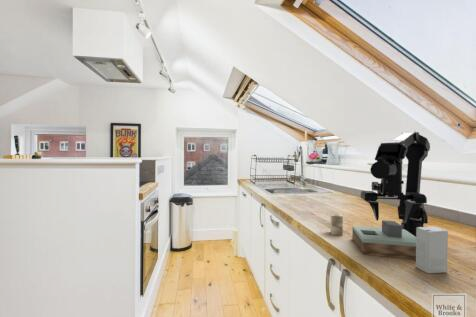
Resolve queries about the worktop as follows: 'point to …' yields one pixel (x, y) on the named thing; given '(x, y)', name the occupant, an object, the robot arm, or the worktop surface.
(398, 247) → the toolbox base
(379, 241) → the toolbox lid
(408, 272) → the worktop surface
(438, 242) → the skincare box
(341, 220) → the beige rectangular block
